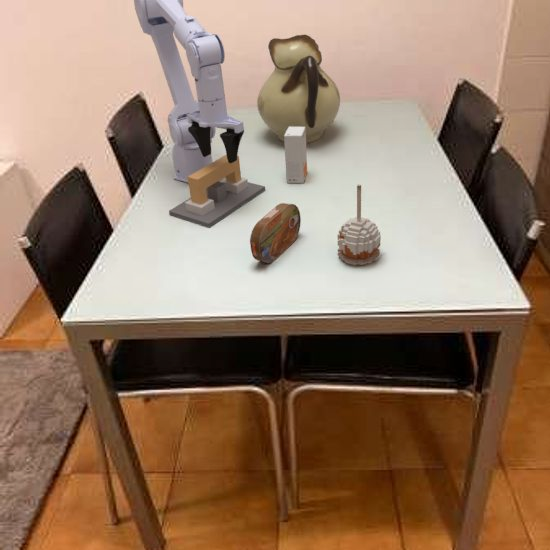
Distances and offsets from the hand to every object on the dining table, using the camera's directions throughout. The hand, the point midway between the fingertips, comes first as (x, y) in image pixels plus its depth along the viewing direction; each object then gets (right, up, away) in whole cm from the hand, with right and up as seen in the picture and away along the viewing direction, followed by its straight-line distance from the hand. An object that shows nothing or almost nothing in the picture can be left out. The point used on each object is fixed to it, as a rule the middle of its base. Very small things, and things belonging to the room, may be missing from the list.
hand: (219, 158), depth 132 cm
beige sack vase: (+20, +13, +35) cm, 42 cm away
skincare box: (+18, -2, +13) cm, 22 cm away
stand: (-1, -9, +5) cm, 11 cm away
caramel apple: (+28, -22, -17) cm, 40 cm away
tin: (+13, -21, -13) cm, 28 cm away
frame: (-1, -7, +4) cm, 8 cm away
